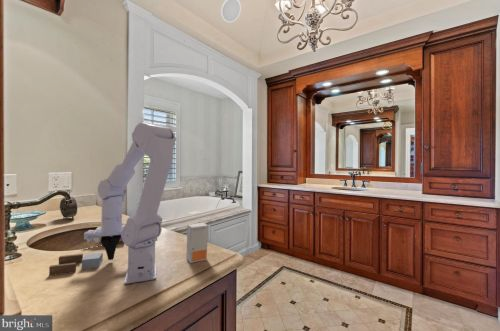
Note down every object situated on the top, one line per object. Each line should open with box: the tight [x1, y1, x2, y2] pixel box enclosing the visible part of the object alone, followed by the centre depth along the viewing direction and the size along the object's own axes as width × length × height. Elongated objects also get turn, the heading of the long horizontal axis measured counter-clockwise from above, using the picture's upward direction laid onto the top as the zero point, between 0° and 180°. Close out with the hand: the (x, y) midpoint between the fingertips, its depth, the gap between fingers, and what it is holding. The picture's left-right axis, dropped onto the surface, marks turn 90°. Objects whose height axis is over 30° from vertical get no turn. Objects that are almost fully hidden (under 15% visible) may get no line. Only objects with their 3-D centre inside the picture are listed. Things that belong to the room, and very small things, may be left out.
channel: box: [48, 253, 84, 277], centre depth 69 cm, size 8×6×2 cm
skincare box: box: [186, 222, 209, 264], centre depth 78 cm, size 6×4×12 cm
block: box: [81, 252, 104, 270], centre depth 72 cm, size 4×4×3 cm
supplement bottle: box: [86, 224, 125, 245], centre depth 91 cm, size 7×7×13 cm
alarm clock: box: [59, 189, 78, 221], centre depth 124 cm, size 11×5×16 cm, turn 58°
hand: (111, 258), depth 74 cm, fingers closed
